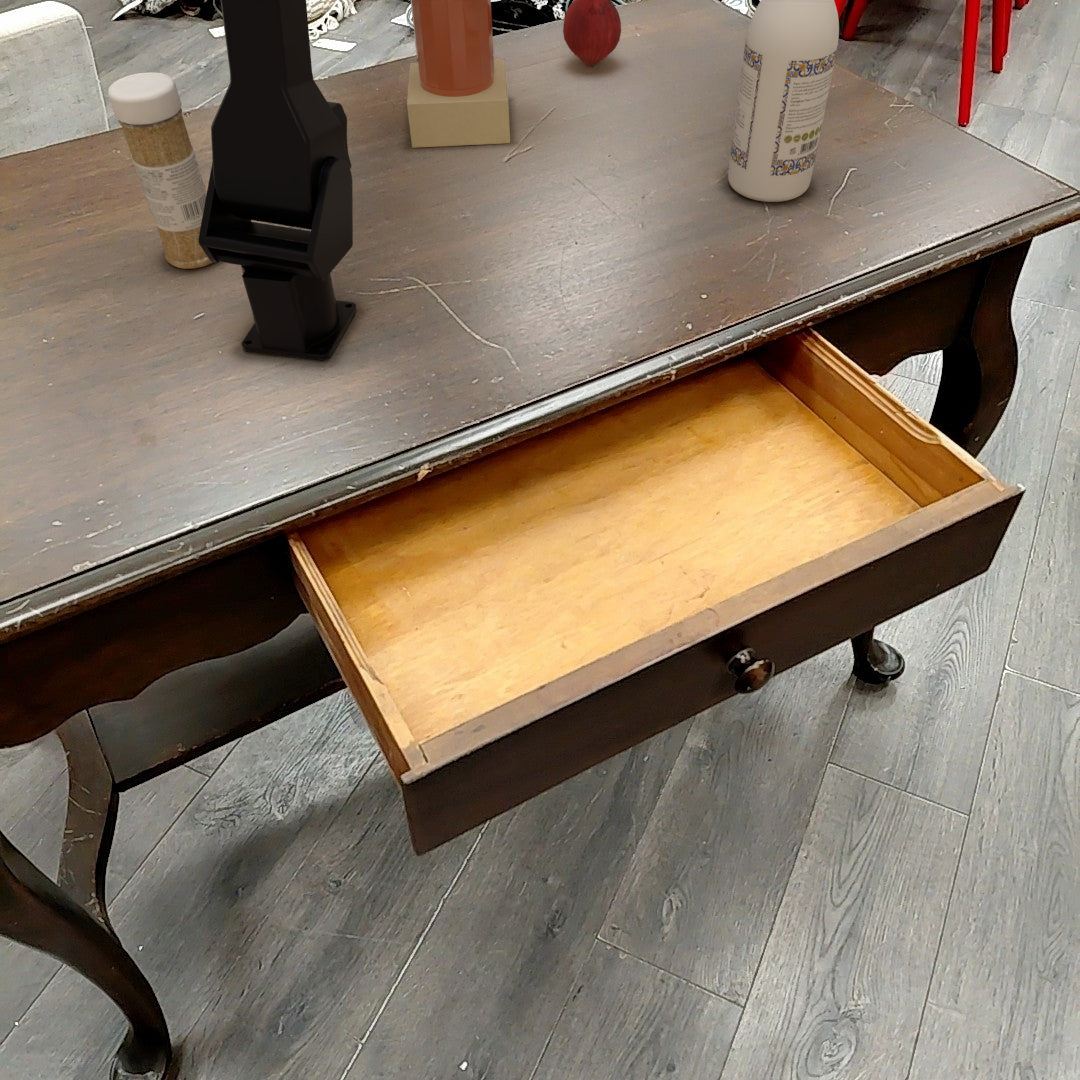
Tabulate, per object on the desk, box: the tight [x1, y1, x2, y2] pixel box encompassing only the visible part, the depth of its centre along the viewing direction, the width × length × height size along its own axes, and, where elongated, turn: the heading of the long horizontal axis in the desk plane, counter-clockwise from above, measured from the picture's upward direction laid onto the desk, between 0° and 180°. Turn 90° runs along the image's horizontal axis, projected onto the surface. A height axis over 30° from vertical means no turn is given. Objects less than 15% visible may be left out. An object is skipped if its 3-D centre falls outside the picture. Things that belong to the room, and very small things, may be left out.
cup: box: [410, 0, 495, 97], centre depth 86 cm, size 7×7×8 cm
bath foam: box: [727, 0, 840, 203], centre depth 75 cm, size 7×7×20 cm
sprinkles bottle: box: [107, 71, 214, 270], centre depth 72 cm, size 5×5×14 cm
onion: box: [562, 0, 622, 68], centre depth 97 cm, size 6×6×8 cm
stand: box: [406, 58, 511, 149], centre depth 90 cm, size 9×9×4 cm
